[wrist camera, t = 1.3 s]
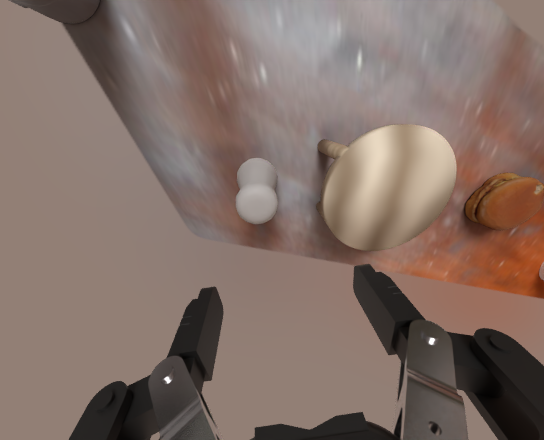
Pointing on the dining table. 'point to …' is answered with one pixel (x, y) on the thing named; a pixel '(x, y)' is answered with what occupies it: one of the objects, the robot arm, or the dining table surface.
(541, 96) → the dining table surface
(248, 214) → the salt shaker
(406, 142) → the stool
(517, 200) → the burger
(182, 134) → the dining table surface
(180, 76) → the dining table surface
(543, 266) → the honey pot
